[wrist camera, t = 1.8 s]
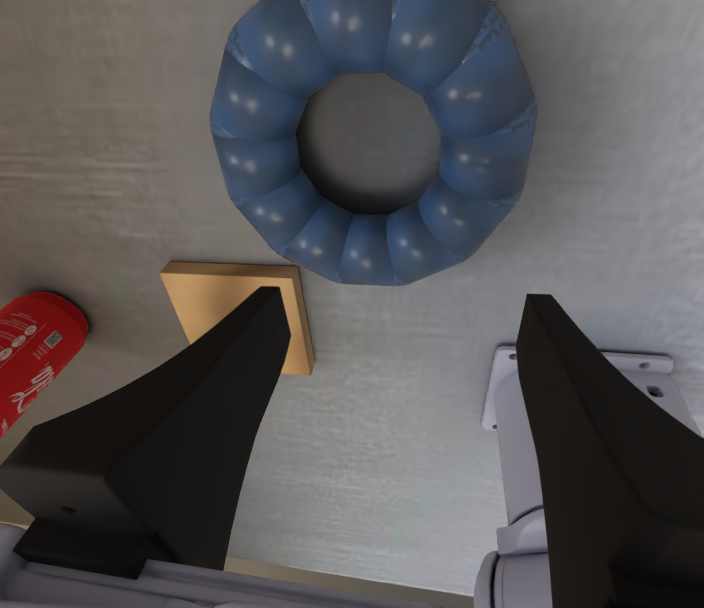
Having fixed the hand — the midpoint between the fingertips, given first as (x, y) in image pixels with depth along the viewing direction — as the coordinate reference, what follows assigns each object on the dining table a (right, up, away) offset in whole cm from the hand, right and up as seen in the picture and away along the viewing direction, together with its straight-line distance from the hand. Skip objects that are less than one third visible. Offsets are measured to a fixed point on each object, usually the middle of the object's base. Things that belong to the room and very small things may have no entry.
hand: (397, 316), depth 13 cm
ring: (-1, +7, +5) cm, 8 cm away
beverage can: (-22, 0, +18) cm, 29 cm away
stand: (-8, 0, +15) cm, 17 cm away
